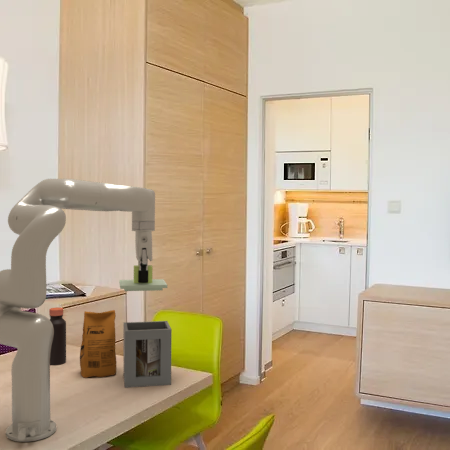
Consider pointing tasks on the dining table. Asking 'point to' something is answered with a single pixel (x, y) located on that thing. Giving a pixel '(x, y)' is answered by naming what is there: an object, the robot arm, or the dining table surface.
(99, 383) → the dining table surface
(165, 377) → the crate
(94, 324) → the coffee package
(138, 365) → the coffee box
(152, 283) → the lid
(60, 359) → the bottle
